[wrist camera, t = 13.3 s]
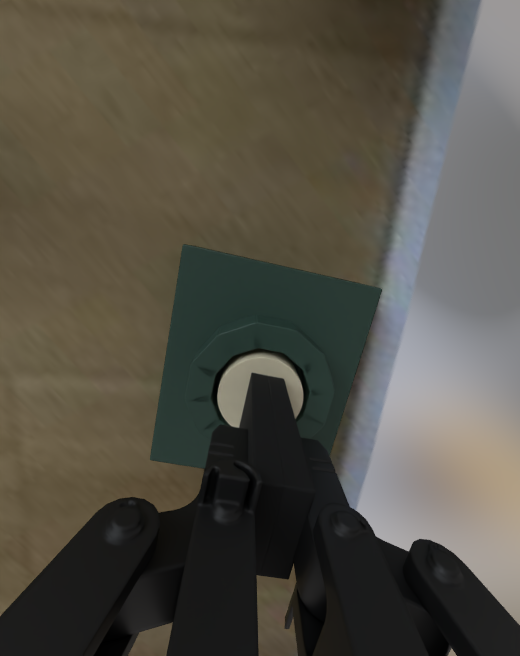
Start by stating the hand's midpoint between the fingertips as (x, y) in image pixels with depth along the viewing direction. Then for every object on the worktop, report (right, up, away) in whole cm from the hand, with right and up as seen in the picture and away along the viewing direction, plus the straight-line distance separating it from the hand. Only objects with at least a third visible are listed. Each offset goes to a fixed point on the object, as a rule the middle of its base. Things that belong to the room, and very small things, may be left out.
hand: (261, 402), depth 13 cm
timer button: (0, +1, +2) cm, 2 cm away
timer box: (0, +1, +4) cm, 5 cm away
